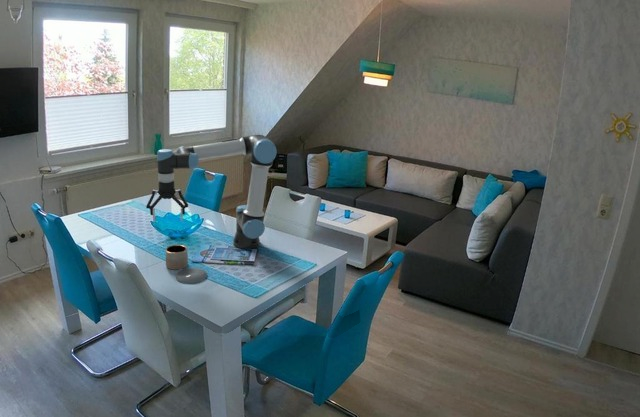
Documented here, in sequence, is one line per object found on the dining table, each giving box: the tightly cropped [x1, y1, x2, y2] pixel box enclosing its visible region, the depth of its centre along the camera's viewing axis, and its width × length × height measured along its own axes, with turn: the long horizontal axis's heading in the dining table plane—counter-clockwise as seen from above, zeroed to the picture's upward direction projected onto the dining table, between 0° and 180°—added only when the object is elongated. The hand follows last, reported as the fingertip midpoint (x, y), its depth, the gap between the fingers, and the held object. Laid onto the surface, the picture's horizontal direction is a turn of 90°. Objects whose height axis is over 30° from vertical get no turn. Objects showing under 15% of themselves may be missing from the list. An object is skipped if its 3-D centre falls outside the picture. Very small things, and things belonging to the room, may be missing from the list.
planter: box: [165, 244, 189, 271], centre depth 256 cm, size 11×11×10 cm
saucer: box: [174, 267, 208, 284], centre depth 247 cm, size 15×15×1 cm
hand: (168, 220), depth 256 cm, fingers open, 13 cm apart
